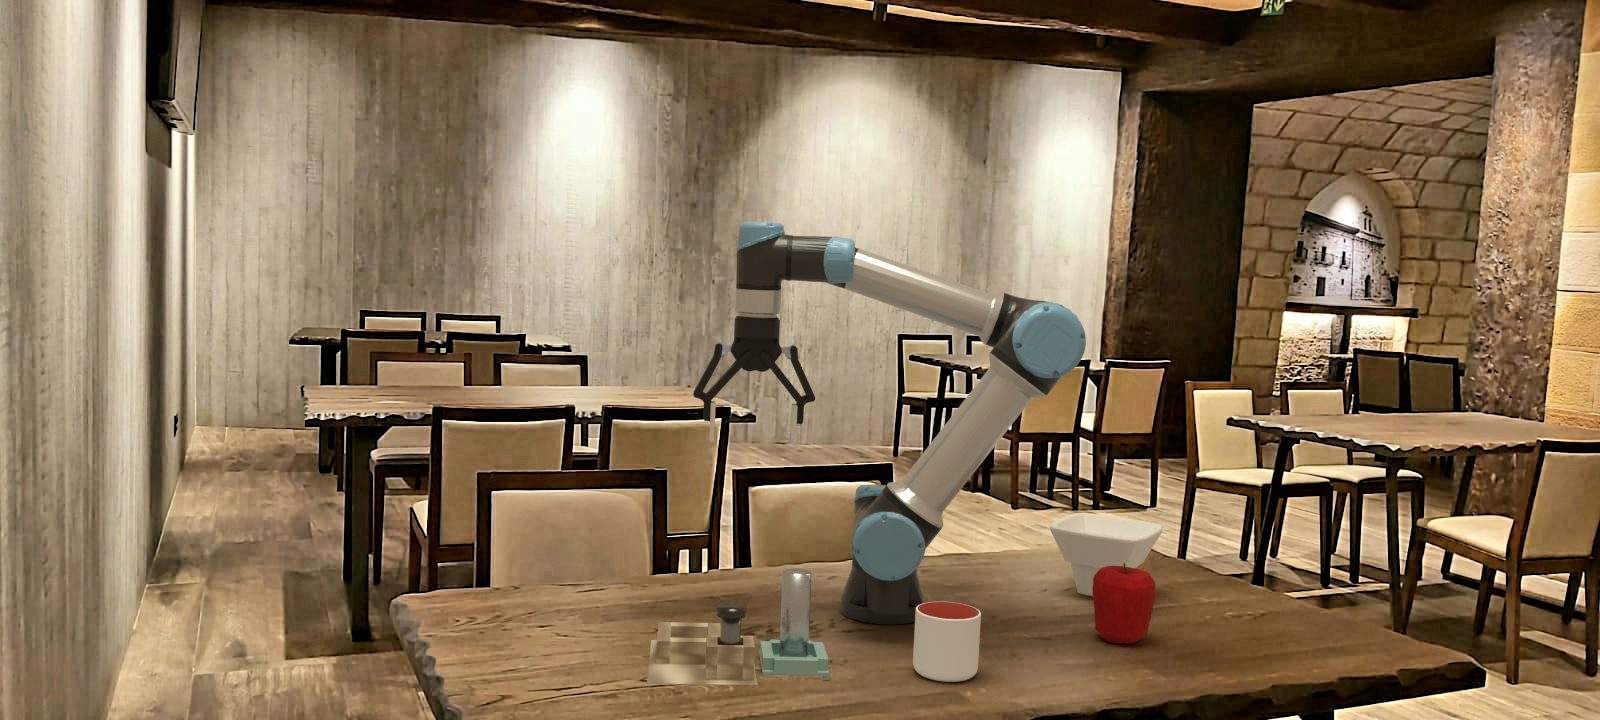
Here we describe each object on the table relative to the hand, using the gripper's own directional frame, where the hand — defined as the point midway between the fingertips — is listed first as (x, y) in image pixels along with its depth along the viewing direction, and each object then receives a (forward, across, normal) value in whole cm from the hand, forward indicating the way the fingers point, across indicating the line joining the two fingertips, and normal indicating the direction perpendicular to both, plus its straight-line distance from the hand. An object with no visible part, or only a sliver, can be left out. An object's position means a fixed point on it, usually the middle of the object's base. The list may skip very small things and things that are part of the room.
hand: (752, 442), depth 214 cm
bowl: (+32, -70, -24) cm, 81 cm away
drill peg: (+30, -6, +21) cm, 38 cm away
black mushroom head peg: (+30, +4, +26) cm, 40 cm away
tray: (+32, -6, +21) cm, 39 cm away
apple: (+32, -64, +4) cm, 72 cm away
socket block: (+32, +8, +20) cm, 38 cm away
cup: (+32, -30, +22) cm, 49 cm away
